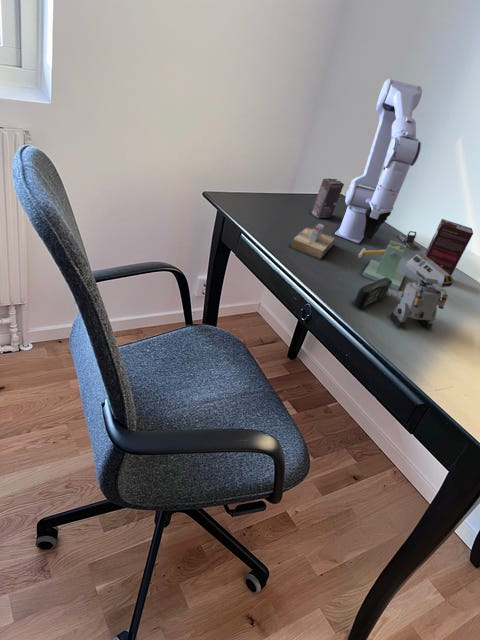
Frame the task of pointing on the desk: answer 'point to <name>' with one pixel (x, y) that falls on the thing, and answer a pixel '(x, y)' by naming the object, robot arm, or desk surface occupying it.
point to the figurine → (421, 292)
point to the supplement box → (448, 244)
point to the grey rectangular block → (316, 232)
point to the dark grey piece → (372, 292)
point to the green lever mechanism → (387, 265)
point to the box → (327, 198)
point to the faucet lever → (373, 252)
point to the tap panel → (312, 243)
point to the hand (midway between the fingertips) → (368, 236)
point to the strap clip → (409, 240)
